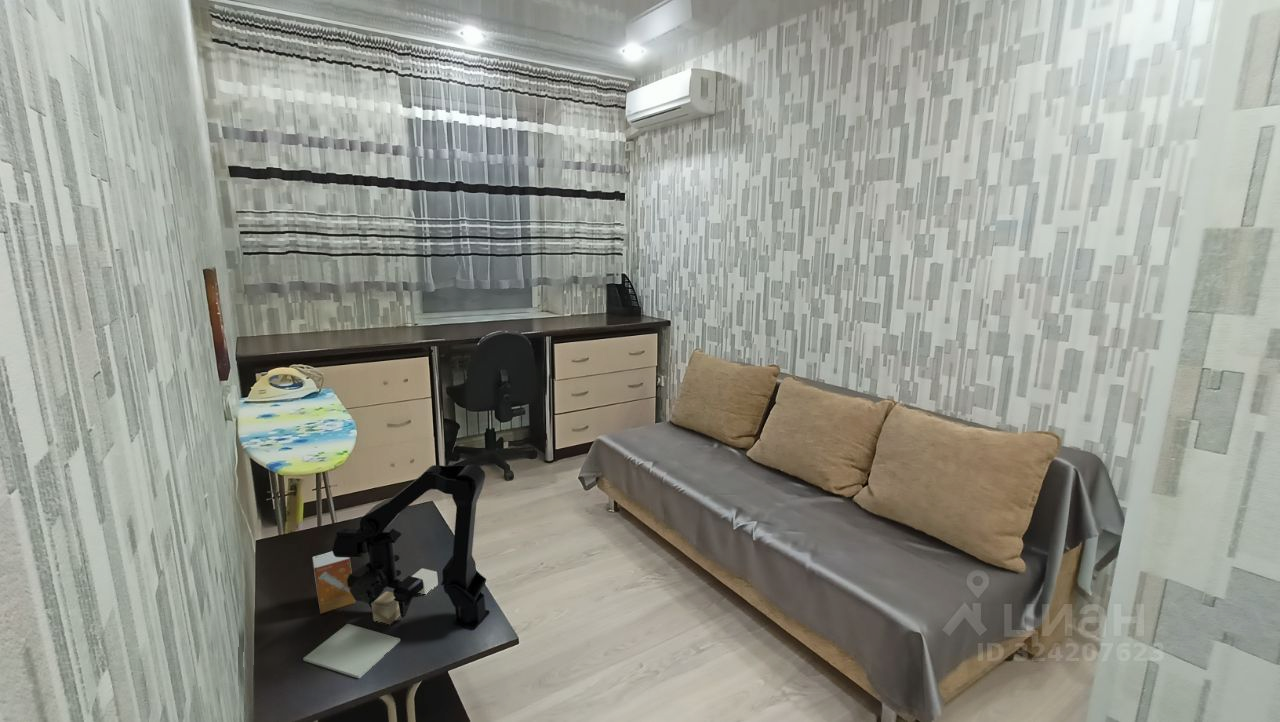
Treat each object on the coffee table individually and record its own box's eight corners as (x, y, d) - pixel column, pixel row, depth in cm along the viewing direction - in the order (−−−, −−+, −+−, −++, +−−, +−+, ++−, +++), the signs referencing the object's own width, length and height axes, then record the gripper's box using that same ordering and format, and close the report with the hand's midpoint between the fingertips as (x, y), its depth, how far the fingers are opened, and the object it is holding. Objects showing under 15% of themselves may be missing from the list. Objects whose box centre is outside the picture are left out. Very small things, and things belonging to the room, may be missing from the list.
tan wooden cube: (404, 612, 139) (402, 595, 138) (389, 625, 135) (387, 607, 134) (388, 608, 141) (386, 591, 140) (373, 621, 136) (371, 603, 135)
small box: (320, 614, 139) (313, 568, 136) (318, 601, 144) (311, 556, 141) (356, 603, 143) (350, 557, 140) (353, 590, 148) (347, 546, 145)
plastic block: (438, 584, 150) (436, 571, 149) (425, 595, 146) (423, 582, 145) (423, 581, 152) (422, 568, 151) (410, 591, 148) (408, 578, 147)
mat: (400, 640, 129) (400, 638, 129) (359, 678, 118) (358, 676, 118) (347, 625, 135) (347, 623, 134) (303, 660, 123) (303, 658, 123)
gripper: (324, 567, 130) (332, 625, 133) (387, 583, 124) (394, 643, 127) (362, 543, 140) (369, 597, 143) (422, 556, 134) (428, 613, 137)
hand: (388, 612), depth 138 cm, fingers open, 9 cm apart
